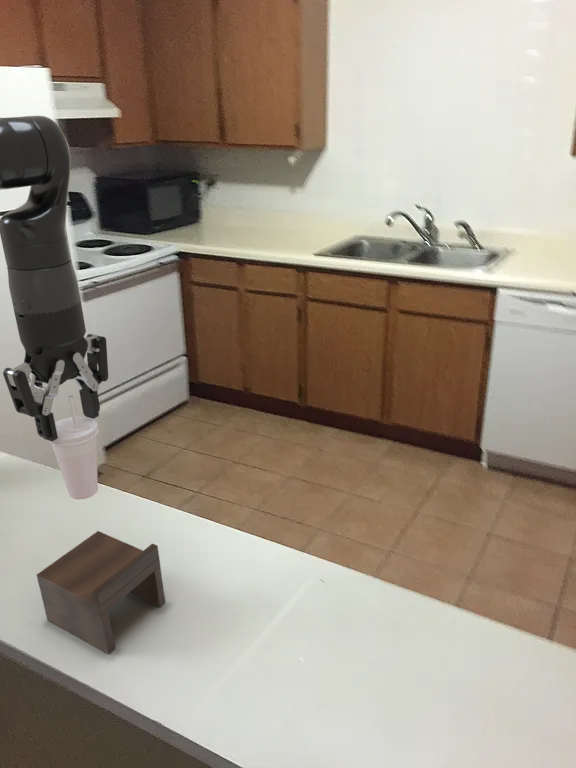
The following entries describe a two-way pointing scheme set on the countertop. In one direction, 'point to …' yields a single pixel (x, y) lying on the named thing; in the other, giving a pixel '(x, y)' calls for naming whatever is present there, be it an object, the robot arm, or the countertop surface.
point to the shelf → (98, 586)
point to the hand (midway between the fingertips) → (71, 427)
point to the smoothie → (77, 453)
